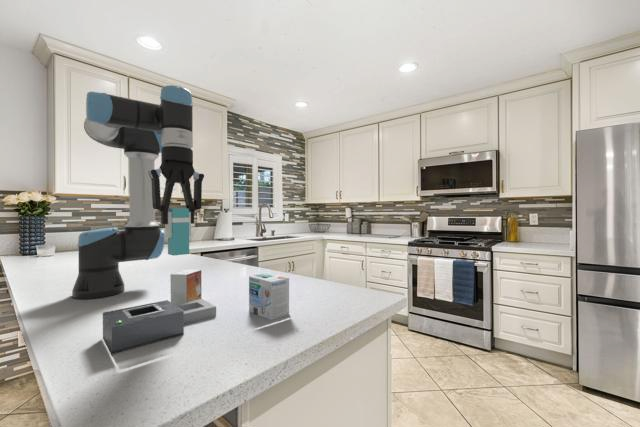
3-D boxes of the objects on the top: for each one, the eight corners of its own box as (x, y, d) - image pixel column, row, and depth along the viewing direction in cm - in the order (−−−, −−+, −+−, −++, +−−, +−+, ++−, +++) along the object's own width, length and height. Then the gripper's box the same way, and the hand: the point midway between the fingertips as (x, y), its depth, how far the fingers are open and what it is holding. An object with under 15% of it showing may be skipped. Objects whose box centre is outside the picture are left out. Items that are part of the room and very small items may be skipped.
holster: (166, 316, 84) (166, 306, 83) (201, 308, 90) (201, 298, 90) (178, 327, 76) (178, 315, 76) (216, 317, 83) (216, 306, 83)
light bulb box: (248, 313, 87) (247, 275, 86) (267, 307, 92) (266, 272, 91) (271, 322, 79) (270, 281, 79) (290, 315, 84) (290, 277, 84)
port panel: (102, 338, 70) (102, 310, 70) (167, 322, 79) (167, 298, 79) (112, 356, 61) (111, 325, 61) (183, 336, 70) (183, 309, 70)
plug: (167, 254, 79) (167, 208, 79) (183, 252, 82) (183, 208, 82) (173, 255, 76) (172, 208, 76) (189, 253, 79) (189, 208, 79)
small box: (186, 309, 90) (186, 274, 90) (170, 308, 91) (169, 274, 91) (202, 301, 97) (202, 269, 97) (186, 300, 99) (186, 269, 98)
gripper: (144, 140, 70) (145, 239, 70) (215, 150, 82) (215, 235, 82) (136, 145, 76) (137, 237, 76) (203, 154, 88) (204, 234, 88)
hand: (178, 236), depth 79 cm, fingers closed on plug, 4 cm apart
